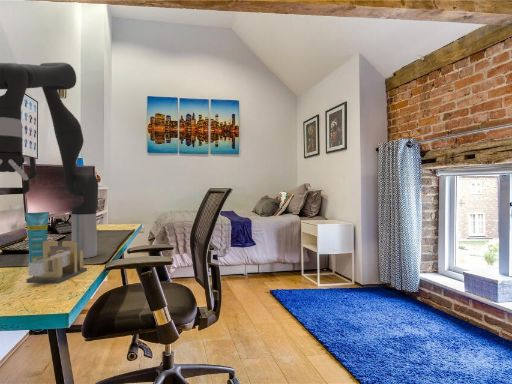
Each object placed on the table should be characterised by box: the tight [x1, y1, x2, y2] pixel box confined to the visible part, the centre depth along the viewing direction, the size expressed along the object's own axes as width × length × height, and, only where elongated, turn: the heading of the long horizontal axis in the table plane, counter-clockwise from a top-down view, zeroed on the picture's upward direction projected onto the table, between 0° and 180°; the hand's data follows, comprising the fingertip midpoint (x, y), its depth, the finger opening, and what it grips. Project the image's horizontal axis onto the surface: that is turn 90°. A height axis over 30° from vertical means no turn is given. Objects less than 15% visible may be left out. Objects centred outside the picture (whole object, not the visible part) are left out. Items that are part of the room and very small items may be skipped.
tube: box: [24, 211, 50, 263], centre depth 135 cm, size 7×5×19 cm, turn 123°
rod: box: [27, 250, 70, 277], centre depth 119 cm, size 20×4×4 cm, turn 176°
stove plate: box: [25, 267, 88, 284], centre depth 120 cm, size 16×10×1 cm, turn 176°
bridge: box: [43, 240, 77, 273], centre depth 121 cm, size 2×10×10 cm, turn 85°
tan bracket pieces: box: [32, 249, 84, 279], centre depth 121 cm, size 14×8×6 cm, turn 176°
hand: (7, 194), depth 105 cm, fingers open, 8 cm apart
